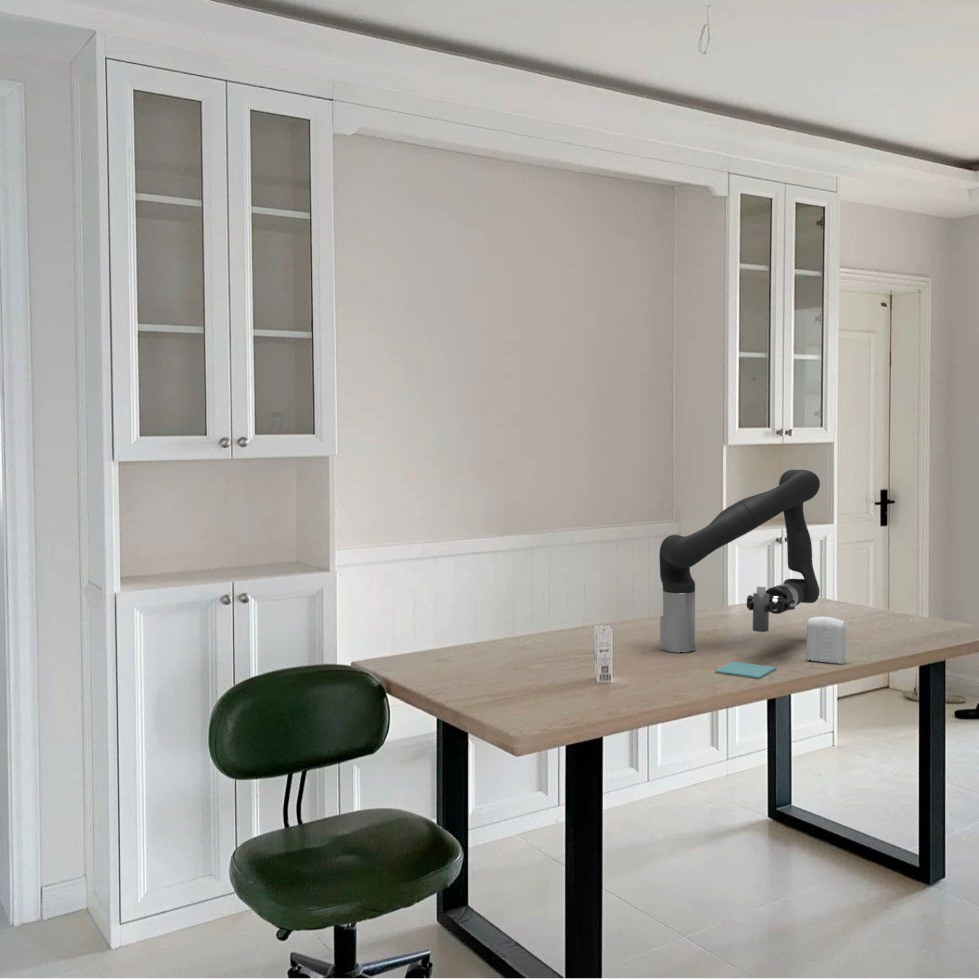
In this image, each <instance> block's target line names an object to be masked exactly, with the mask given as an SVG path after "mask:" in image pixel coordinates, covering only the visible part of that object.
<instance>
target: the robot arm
mask: <svg viewBox="0 0 979 979" xmlns="http://www.w3.org/2000/svg"><path fill="white" fill-rule="evenodd" d="M820 487H821V480H820V478H819V476H818V475H817V474H816V473H815V472H813V471H810V470H809V469H808V470H807V469H789V470H787V471H784V472H783V474H781V476H780V478H779V481H778V485H777V486H776V487H774V488H771V489H770V490H767V491H764V492H761V493H758V494H755V495H751V496H748V497H744V498H743V499H741V500H739V501H736V502H734V504H731V505H730V506H728V507H727V508H725V509H723V510H722V511H721V512H720V513H718V514H717V515H716V517H715V518H713V520H712V521H711V522H710V523H709V524H708V525H706V526H704V527H703V528H702V529H700V530H697V531H695V532H694V533H691V534H689V535H686V536H683V535H679V534H671V535H668V536H667V537H665V538H664V539H663V540H662V542H661V544H660V547H659V575H660V576H659V578H660V582H661V584H662V616H661V615H660V617H659V625H660V626H659V627H660V628H659V638H660V640H659V643H660V644H659V646H660V647H659V648H660V649H659V650H662V651H663V650H664V651H666V652H670V653H680V652H683V653H690V651H692V652H694V651H696V582H695V580H694V578H693V576H692V574H691V569H690V568H692V567H694V566H695V565H696V564H698V563H699V562H701V561H702V560H703V559H705V558H706V557H708V556H709V555H711V553H713V552H714V551H717V550H718V549H720V548H722V547H724V546H726V545H727V544H729V543H731V542H733V541H735V540H737V539H739V538H741V537H743V536H745V535H747V534H748V533H750V532H752V531H753V530H755V529H757V528H758V527H760V526H762V525H764V524H765V523H766V522H768V521H770V520H772V519H773V518H775V517H777V516H778V515H779V514H781V513H783V518H784V524H785V531H786V532H785V533H786V547H787V548H786V552H787V567H788V569H789V570H790V571H792V572H796V573H799V574H801V576H802V577H803V578H788V579H785V580H784V582H783V583H782V584H778V585H775V586H772V587H769V588H768V589H766V593H767V594H769V603H767V604H766V606H765V611H766V612H769V613H771V614H775V615H779V614H782V613H785V612H787V611H792V610H795V609H796V606H798V605H800V604H801V603H802V604H803V603H804V604H814V603H815V602H817V601H818V600H819V597H820V586H819V583H818V580H817V576H816V574H815V570H814V565H813V564H814V563H813V545H812V540H811V535H810V532H809V530H808V526H807V523H806V519H805V514H804V503H805V502H807V501H810V500H812V499H813V498H814V497H815V496H816V495H817V494H818V492H819V490H820ZM746 608H747V609H748V610H749V611H753V595H752V594H750V595H747V598H746ZM693 650H694V651H693ZM680 654H681V653H680Z"/></svg>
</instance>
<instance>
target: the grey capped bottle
mask: <svg viewBox="0 0 979 979" xmlns="http://www.w3.org/2000/svg"><path fill="white" fill-rule="evenodd" d="M766 588H767V587H766V586H760V585H758V586H756V592H754V593H752V597H753V610H752V631H753V632H759V633H767V632H769V631H770V630H769V627H770V625H769V624H770V622H769V621H770V618H769V617H770V616H769V615H770V612H766V611H765V606H766V604H767V603H769V594H767V593H766V590H767V589H766Z"/></svg>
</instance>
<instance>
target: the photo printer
mask: <svg viewBox="0 0 979 979" xmlns="http://www.w3.org/2000/svg"><path fill="white" fill-rule="evenodd" d="M846 631H847V630H846V625H845V621H843V620H841V619H839V618H835V617H831V616H814V617H811V618H809V619H808V621H807V624H806V652H805V654H806V655H805V656H806V659H805V660H806V661H809V660H811V661H812V662H818V661H819V662H821V663H827V662H828V663H829V664H836V663H837V664H838V665H844V664H845V662H846V634H847V633H846ZM819 662H818V663H819ZM828 663H827V664H828Z"/></svg>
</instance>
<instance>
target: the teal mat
mask: <svg viewBox="0 0 979 979" xmlns="http://www.w3.org/2000/svg"><path fill="white" fill-rule="evenodd" d="M774 670H775V671H776V670H777V667H775V666H768V665H761V664H760V665H759V664H755V663H754V664H753V663H748V662H747V663H745V662H737V661H732V662H730V663H728V664H725V666H722V667H720V668H718V669H715V673H716V672H717V673H716V674H719V673H723V674H722V675H726V674H730V675H729V676H734V675H737V676H736V677H741V676H743V677H742V678H748V677H751V678H750V679H755V678H757V680H761V679H762V678H764V677H765V676H768V675H770V674H771V673H773V672H774ZM772 671H773V672H772ZM767 674H768V675H767ZM760 678H761V679H760Z"/></svg>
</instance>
